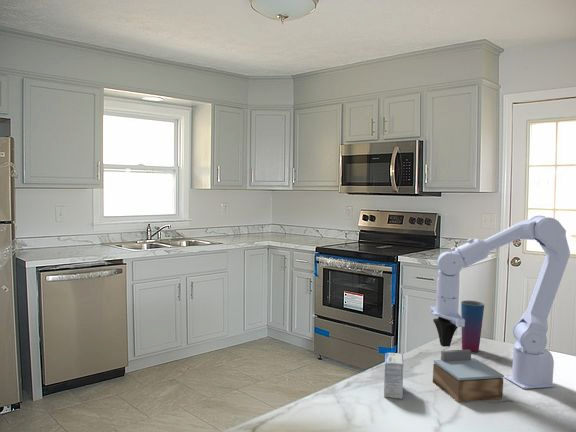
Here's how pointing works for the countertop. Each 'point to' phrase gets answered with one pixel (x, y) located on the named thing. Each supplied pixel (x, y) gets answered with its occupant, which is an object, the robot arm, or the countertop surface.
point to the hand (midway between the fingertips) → (445, 345)
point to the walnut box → (468, 386)
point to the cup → (471, 324)
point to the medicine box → (393, 375)
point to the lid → (465, 366)
